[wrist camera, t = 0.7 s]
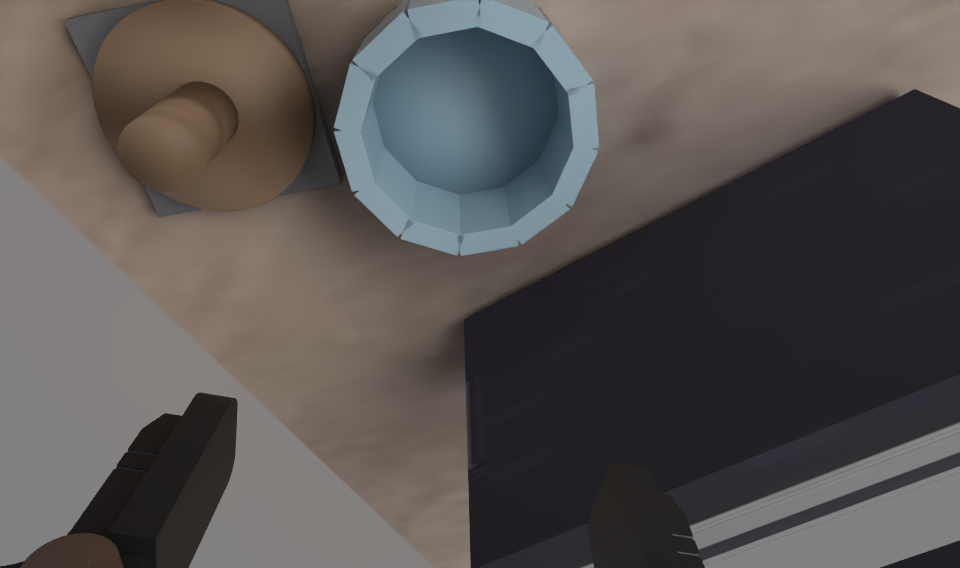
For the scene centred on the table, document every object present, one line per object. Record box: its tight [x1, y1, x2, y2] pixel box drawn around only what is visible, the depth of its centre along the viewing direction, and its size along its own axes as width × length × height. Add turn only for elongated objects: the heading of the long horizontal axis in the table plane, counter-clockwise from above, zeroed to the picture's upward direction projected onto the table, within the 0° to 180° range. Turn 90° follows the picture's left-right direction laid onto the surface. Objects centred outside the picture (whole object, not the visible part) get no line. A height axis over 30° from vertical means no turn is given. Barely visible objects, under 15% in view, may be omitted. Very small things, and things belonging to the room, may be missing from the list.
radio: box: [464, 89, 960, 568], centre depth 25 cm, size 24×5×20 cm, turn 120°
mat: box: [63, 0, 342, 217], centre depth 28 cm, size 9×9×1 cm
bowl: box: [334, 0, 599, 256], centre depth 27 cm, size 10×10×5 cm
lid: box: [93, 0, 316, 211], centre depth 26 cm, size 9×9×6 cm
